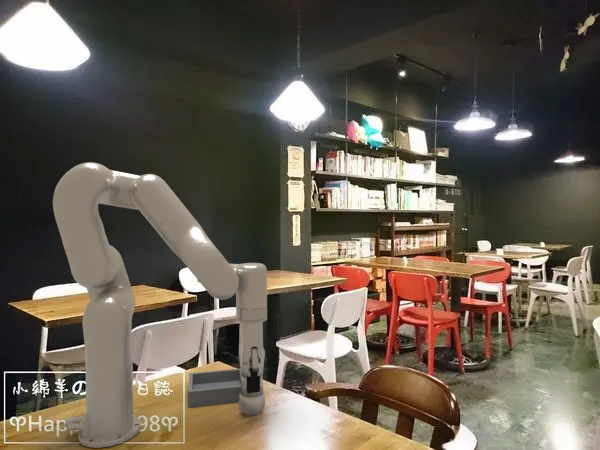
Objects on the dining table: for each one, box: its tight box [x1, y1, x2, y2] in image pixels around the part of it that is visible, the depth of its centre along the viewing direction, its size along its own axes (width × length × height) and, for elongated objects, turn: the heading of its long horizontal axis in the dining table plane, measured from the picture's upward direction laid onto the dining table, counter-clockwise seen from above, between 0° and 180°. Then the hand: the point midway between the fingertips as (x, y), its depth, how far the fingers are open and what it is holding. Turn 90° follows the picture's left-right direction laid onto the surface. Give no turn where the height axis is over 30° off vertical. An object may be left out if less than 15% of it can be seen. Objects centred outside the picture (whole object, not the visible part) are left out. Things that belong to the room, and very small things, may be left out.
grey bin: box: [187, 368, 241, 408], centre depth 112 cm, size 15×13×4 cm
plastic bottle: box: [237, 347, 266, 416], centre depth 101 cm, size 6×7×20 cm
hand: (251, 386), depth 101 cm, fingers closed on plastic bottle, 5 cm apart
